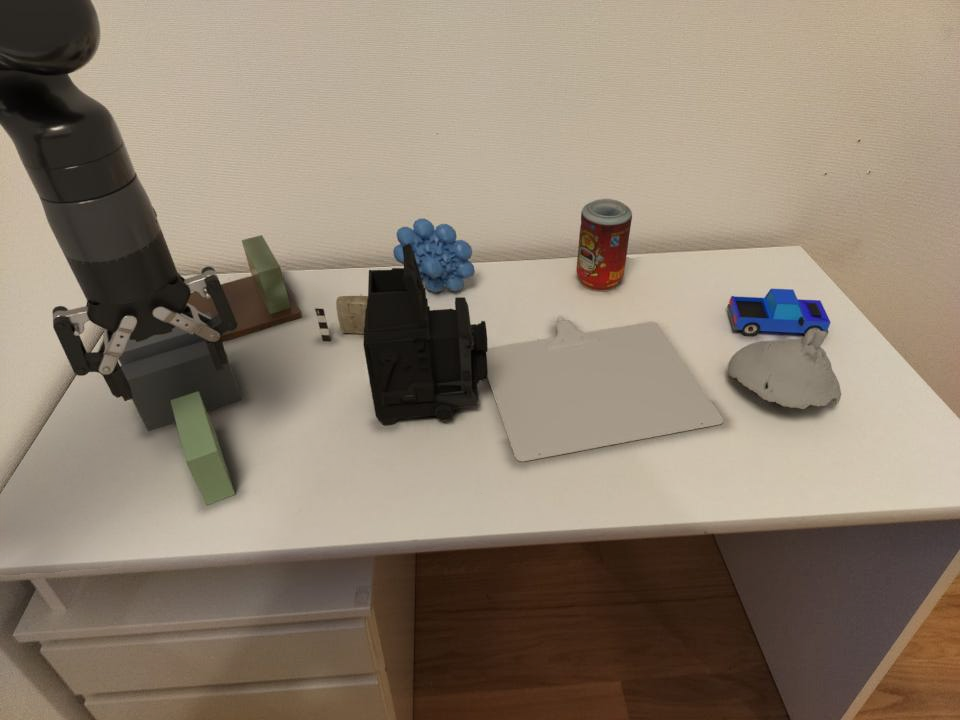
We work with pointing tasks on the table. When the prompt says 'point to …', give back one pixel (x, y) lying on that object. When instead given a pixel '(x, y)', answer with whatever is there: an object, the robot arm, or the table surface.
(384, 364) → the camera
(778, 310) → the toy car
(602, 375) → the grey rectangular panel
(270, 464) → the table surface
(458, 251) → the grapes
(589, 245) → the soda can
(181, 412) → the green book
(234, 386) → the grey grooved block
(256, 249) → the book rack
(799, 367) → the grey clay mound
